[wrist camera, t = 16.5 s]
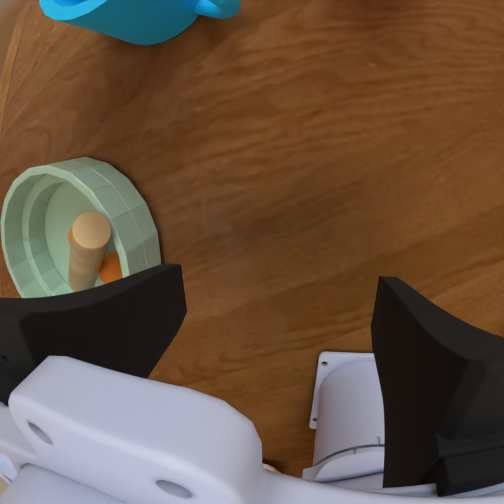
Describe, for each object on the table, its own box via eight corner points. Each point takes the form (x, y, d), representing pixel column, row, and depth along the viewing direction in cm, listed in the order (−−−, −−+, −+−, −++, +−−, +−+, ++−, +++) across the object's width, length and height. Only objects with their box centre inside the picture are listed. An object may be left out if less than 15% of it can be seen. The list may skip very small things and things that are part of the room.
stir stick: (76, 300, 23) (83, 255, 16) (63, 274, 23) (65, 220, 16) (100, 286, 24) (118, 238, 18) (86, 262, 24) (100, 205, 18)
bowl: (174, 324, 26) (148, 360, 22) (56, 303, 29) (26, 326, 24) (155, 148, 21) (114, 154, 17) (29, 166, 24) (-11, 176, 19)
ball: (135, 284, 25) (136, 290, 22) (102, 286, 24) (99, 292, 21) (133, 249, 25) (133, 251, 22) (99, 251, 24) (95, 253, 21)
